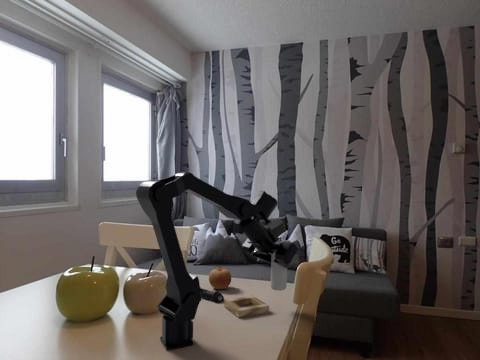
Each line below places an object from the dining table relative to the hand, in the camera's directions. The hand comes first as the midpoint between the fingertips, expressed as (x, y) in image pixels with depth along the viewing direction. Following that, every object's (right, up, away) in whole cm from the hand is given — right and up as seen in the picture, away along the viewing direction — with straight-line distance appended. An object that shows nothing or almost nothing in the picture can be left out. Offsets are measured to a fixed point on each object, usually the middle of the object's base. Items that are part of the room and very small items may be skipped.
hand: (282, 265), depth 109 cm
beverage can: (-1, -7, -1) cm, 7 cm away
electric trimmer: (-25, -13, +9) cm, 30 cm away
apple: (-20, -13, +19) cm, 30 cm away
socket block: (-11, -13, -1) cm, 17 cm away
